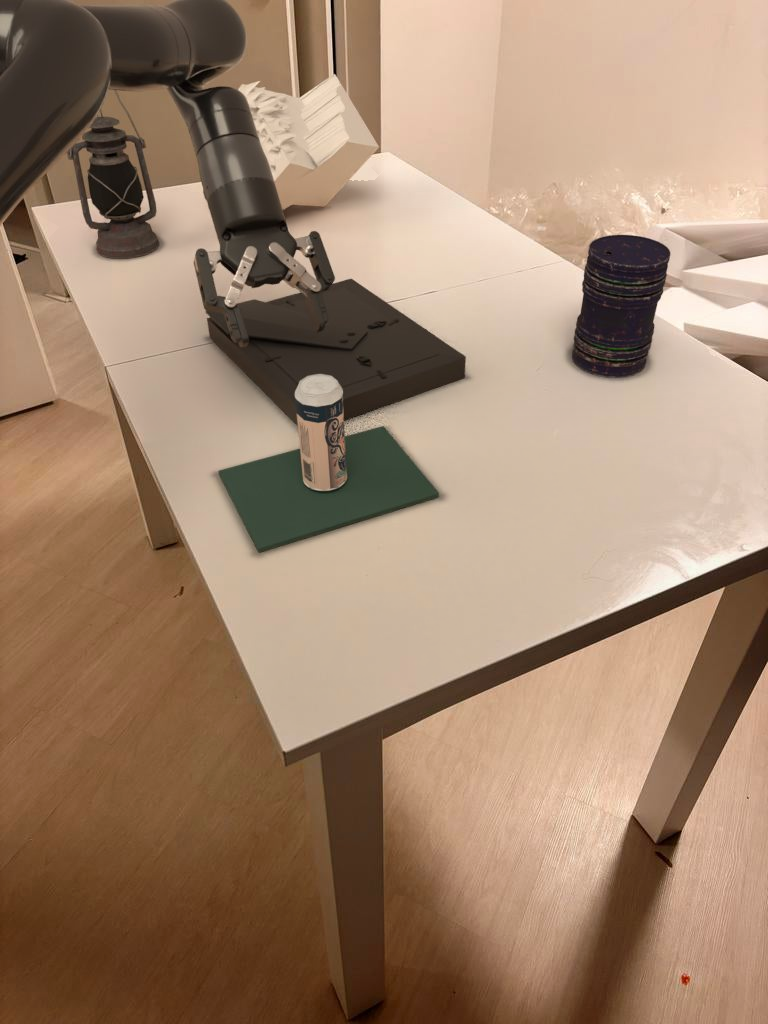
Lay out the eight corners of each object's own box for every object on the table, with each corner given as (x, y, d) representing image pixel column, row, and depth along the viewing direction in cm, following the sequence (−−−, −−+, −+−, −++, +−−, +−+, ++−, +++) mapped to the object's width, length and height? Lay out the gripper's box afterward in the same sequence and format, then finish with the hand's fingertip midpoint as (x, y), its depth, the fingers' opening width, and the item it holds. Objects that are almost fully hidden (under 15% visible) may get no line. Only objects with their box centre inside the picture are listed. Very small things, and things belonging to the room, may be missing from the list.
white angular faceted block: (221, 237, 142) (306, 135, 126) (178, 162, 143) (257, 52, 127) (296, 238, 158) (379, 147, 142) (256, 171, 159) (334, 74, 143)
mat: (258, 553, 79) (257, 548, 78) (218, 474, 88) (218, 470, 88) (439, 497, 85) (439, 492, 85) (383, 430, 95) (383, 425, 94)
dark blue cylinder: (621, 336, 112) (643, 230, 102) (661, 370, 104) (688, 259, 95) (557, 348, 109) (573, 240, 100) (594, 383, 102) (614, 271, 92)
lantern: (153, 229, 144) (116, 38, 125) (173, 249, 137) (136, 50, 118) (84, 243, 140) (34, 47, 120) (100, 264, 133) (50, 60, 113)
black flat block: (210, 338, 113) (305, 434, 94) (205, 310, 110) (303, 404, 91) (352, 297, 122) (464, 377, 104) (351, 271, 119) (466, 348, 101)
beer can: (346, 494, 85) (341, 397, 77) (301, 494, 85) (291, 397, 77) (348, 467, 88) (343, 371, 80) (305, 467, 88) (296, 371, 81)
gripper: (177, 183, 80) (223, 339, 80) (311, 166, 85) (354, 313, 85) (172, 217, 87) (214, 360, 87) (295, 199, 92) (335, 335, 92)
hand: (283, 337), depth 86 cm, fingers open, 8 cm apart
